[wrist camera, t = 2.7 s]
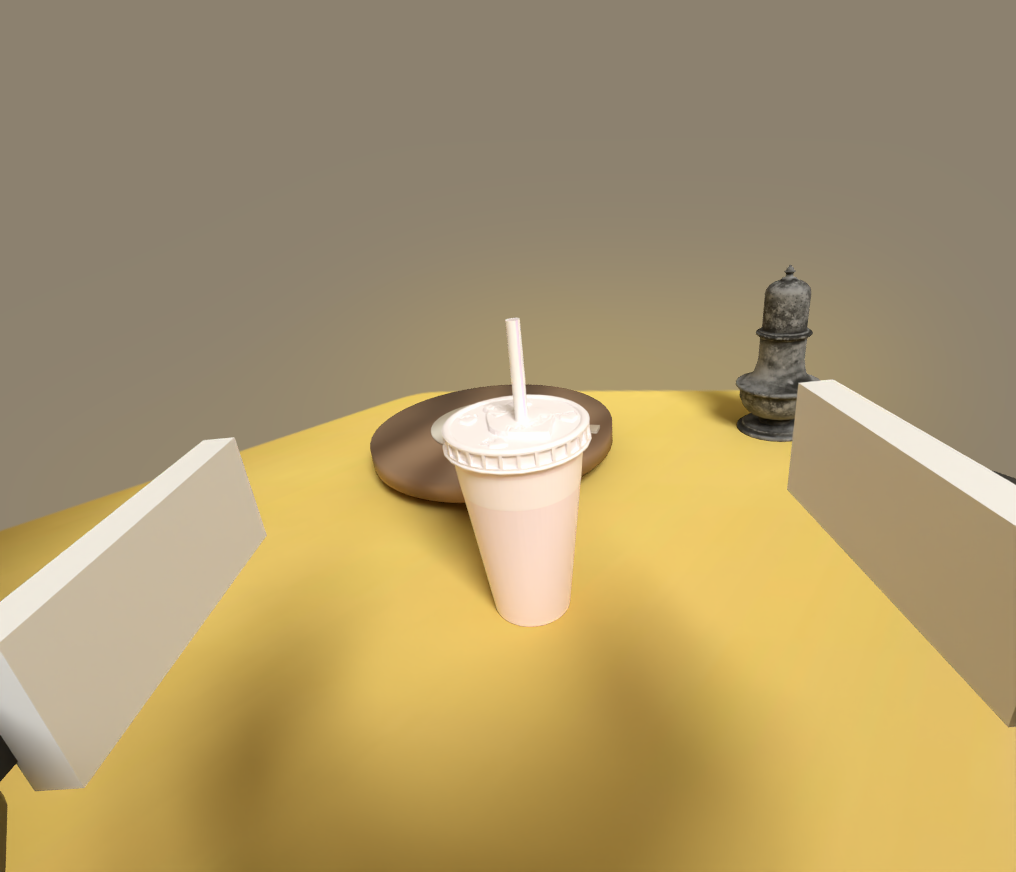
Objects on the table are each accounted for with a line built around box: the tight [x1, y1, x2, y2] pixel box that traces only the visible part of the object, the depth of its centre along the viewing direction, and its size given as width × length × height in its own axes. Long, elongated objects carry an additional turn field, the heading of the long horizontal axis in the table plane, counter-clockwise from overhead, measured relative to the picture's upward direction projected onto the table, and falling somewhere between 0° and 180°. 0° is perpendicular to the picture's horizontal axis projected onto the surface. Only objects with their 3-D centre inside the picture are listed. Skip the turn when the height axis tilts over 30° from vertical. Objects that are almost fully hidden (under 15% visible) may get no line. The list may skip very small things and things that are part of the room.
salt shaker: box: [736, 265, 821, 442], centre depth 40 cm, size 6×6×12 cm
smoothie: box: [442, 318, 592, 627], centre depth 25 cm, size 6×6×14 cm
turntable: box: [370, 385, 612, 503], centre depth 42 cm, size 18×18×2 cm
